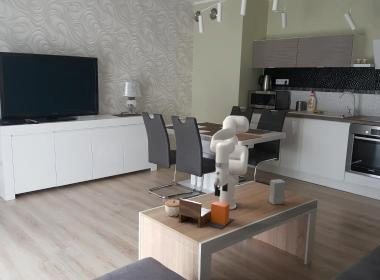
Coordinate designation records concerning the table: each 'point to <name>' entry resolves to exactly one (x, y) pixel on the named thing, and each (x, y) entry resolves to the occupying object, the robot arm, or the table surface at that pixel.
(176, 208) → the trinket box
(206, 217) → the wooden toy chair
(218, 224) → the mat
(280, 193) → the cosmetic box
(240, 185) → the table surface
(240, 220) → the table surface
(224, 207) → the block
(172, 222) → the table surface
